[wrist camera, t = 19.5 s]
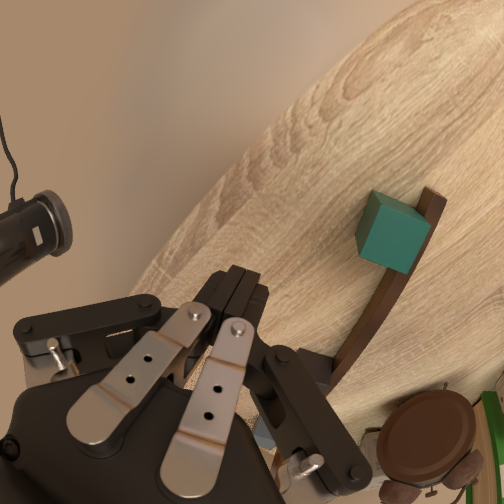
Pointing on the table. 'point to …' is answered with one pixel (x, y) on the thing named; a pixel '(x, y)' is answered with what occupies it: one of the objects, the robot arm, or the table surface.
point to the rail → (385, 294)
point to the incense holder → (373, 460)
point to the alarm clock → (428, 446)
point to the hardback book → (488, 452)
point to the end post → (276, 467)
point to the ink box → (500, 391)
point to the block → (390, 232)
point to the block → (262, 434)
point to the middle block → (317, 368)
